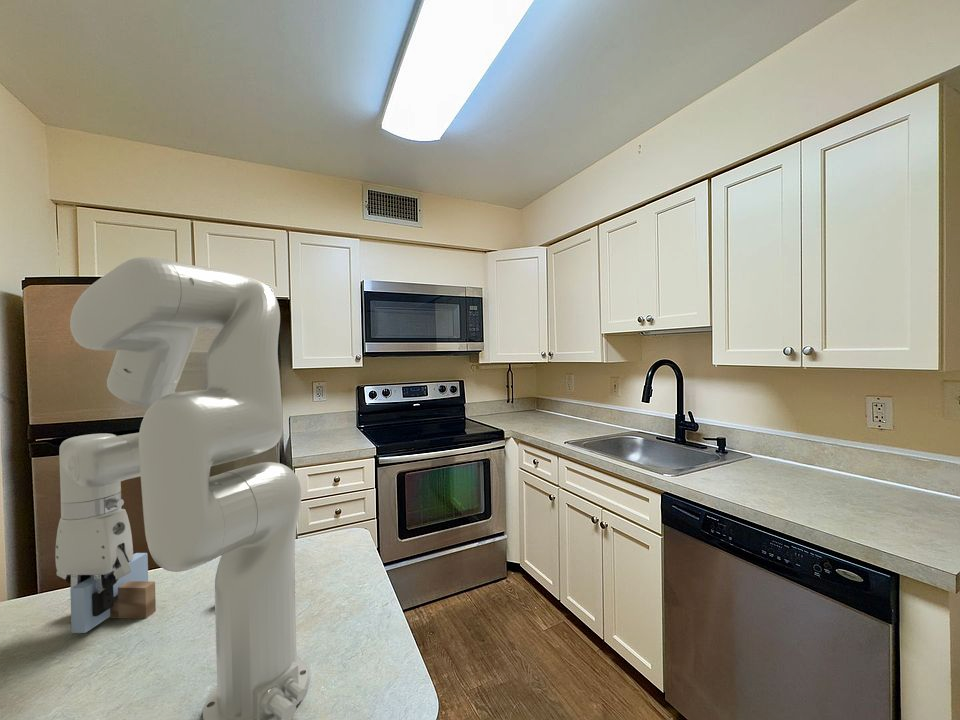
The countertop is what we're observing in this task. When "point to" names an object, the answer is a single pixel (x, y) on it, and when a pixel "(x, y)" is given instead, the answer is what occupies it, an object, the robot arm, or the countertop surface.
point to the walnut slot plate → (134, 600)
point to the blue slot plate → (83, 591)
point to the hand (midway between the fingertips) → (95, 610)
